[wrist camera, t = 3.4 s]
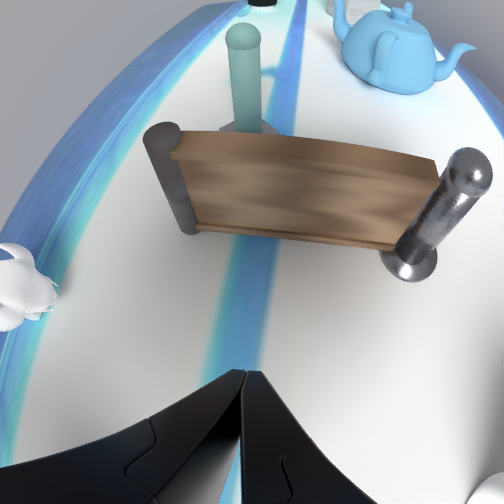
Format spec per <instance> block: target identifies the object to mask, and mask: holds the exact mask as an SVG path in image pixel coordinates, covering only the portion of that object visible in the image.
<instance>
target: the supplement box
mask: <svg viewBox="0 0 504 504" xmlns="http://www.w3.org/2000/svg"><path fill="white" fill-rule="evenodd" d="M343 1H344V3H345V16H346V20H347V22H348V23H349V24H350V25H354V24H355V23H356V22H357V21H358V20H360V19H361V18H362V17H363V16H364V15H365V14H367V13H368V12H370V11H372V10H379V7H380V1H381V0H343ZM326 13H328V14H330V15H331V16H333V17H334V4H333V1H332V0H327V10H326Z"/></svg>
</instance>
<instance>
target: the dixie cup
mask: <svg viewBox="0 0 504 504" xmlns="http://www.w3.org/2000/svg"><path fill="white" fill-rule="evenodd" d="M248 4H249V5H250V9H252V10H255V11H269V10H273V9H275V5H276V4H277V0H248Z"/></svg>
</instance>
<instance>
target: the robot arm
mask: <svg viewBox="0 0 504 504" xmlns="http://www.w3.org/2000/svg"><path fill="white" fill-rule="evenodd" d="M239 440H240V464H241V504H377V503H376V502H375V501H374V500H373V499H371V498H370V497H369V496H368V495H367V494H365V493H364V492H363V491H362V490H361V489H360V488H358V487H357V486H356V485H355V484H354V483H353V482H352V481H351V480H349V479H348V478H347V477H346V476H345V475H344V474H343V473H342V472H341V471H340V470H339V469H338V468H336V467H335V466H334V465H333V464H332V463H331V462H330V461H329V460H328V458H327V457H326V456H325V455H324V454H323V453H322V451H321V450H320V449H319V448H318V447H317V445H316V444H315V443H314V441H313V440H312V439H311V438H310V437H309V436H308V434H307V433H306V432H305V430H304V429H303V428H302V426H301V425H300V424H299V422H298V421H297V420H296V418H295V417H294V416H293V414H292V413H291V411H290V410H289V409H288V407H287V406H286V405H285V403H284V402H283V400H282V399H281V398H280V396H279V395H278V393H277V392H276V391H275V389H274V388H273V386H272V385H271V384H270V382H269V381H268V379H267V378H266V377H265V375H264V374H263V372H261V371H247V372H246V371H245V370H238V369H231V370H230V371H228V372H226V373H225V374H223V375H221V376H220V377H218V378H217V379H215V380H213V381H212V382H210V383H208V384H207V385H205V386H203V387H202V388H200V389H198V390H197V391H195V392H193V393H192V394H190V395H188V396H186V397H185V398H183V399H181V400H179V401H178V402H176V403H174V404H172V405H171V406H169V407H167V408H165V409H163V410H162V411H160V412H158V413H156V414H154V415H152V416H151V417H149V419H148V418H146V419H144V420H142V421H140V422H138V423H136V424H134V425H132V426H130V427H128V428H126V429H124V430H121V431H119V432H117V433H115V434H112V435H110V436H107V437H104V438H102V439H99V440H97V441H94V442H91V443H88V444H85V445H82V446H79V447H76V448H73V449H70V450H66V451H63V452H60V453H56V454H53V455H50V456H46V457H43V458H39V459H35V460H31V461H28V462H24V463H20V464H15V465H11V466H7V467H2V468H0V504H218V502H219V499H220V497H221V494H222V491H223V488H224V485H225V482H226V479H227V477H228V474H229V471H230V468H231V465H232V462H233V459H234V456H235V453H236V450H237V447H238V444H239Z"/></svg>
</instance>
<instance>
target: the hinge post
mask: <svg viewBox="0 0 504 504" xmlns="http://www.w3.org/2000/svg"><path fill="white" fill-rule="evenodd" d="M439 179H440V184H439V186H438V187H437V189H436V190H435V191H434V190H433V191H432V192H431V194H430V195H429V197H428V198H427V200H426V201H425V203H424V204H423V206H422V207H421V209H420V210H419V212H418V213H417V214H416V216H415V217H414V219H413V220H412V222H411V223H410V224H409V226H408V227H407V229H406V230H405V231H404V233H403V234H402V235H401V237H400V238H399V240H398V241H397V242H396V244H395V248H394V249H393V250H392V251H386V250H380V255H381V258H382V260H383V262H384V264H385V266H386V267H387V269H388V270H389V271H390V272H391V273H392V274H393V275H394V276H396V277H397V278H399V279H401V280H403V281H407V282H419V281H422V280H424V279H426V278H427V277H428V276H430V275H431V274H432V272H433V271H434V269H435V267H436V264H437V250H436V247H437V246H438V245H439V243H440V242H441V241H442V240H443V239H444V238H445V237H446V236H447V235H448V234H449V233H450V232H451V230H452V229H453V228H454V227H455V226H456V225H457V224H458V223H459V222H460V220H461V219H462V218H463V217H464V216H465V215H466V213H467V212H468V211H469V210H470V209H471V208H472V206H473V205H474V204H475V203H476V202H477V200H478V199H479V198H480V197H481V196H482V195H484V194H485V193H486V192H487V191H488V190H489V188H490V186H491V183H492V179H493V171H492V167H491V164H490V162H489V160H488V159H487V157H486V156H485V155H484V154H483V153H482V152H481V151H479V150H477V149H475V148H471V147H464V148H461V149H458V150H457V151H455V152H454V153H453V154H452V156H451V157H450V159H449V161H448V164H447V167H446V168H445V170H444V172H443V173H442V175H441V176H440V178H439Z"/></svg>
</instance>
